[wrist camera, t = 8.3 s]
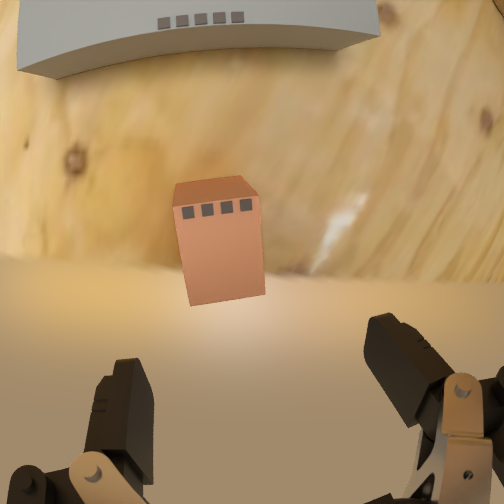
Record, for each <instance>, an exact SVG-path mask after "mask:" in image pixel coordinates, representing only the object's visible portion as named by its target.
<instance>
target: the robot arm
mask: <svg viewBox="0 0 504 504" xmlns="http://www.w3.org/2000/svg"><path fill="white" fill-rule="evenodd" d="M494 2H495V4H496V5H497V7H498V9H499V10H500V12H501V13H502V15H503V16H504V0H494ZM364 358H365V361H366V363H367V365H368V367H369V368H370V370H371V371H372V373H373V375H374V376H375V377H376V379H377V381H378V382H379V383H380V385H381V387H382V388H383V390H384V391H385V393H386V394H387V396H388V397H389V399H390V401H391V402H392V404H393V405H394V407H395V408H396V410H397V411H398V413H399V415H400V416H401V418H402V419H403V421H404V422H405V424H406V426H407V427H408V428H409V427H412V426H414V425H416V424H418V423H419V424H420V426H421V427H422V428H421V431H420V433H419V440H418V446H417V451H416V456H415V462H414V466H413V471H412V475H411V478H410V481H409V483H408V485H407V487H406V489H405V492H404V495H403V498H400V499H393V497H392V495H391V493H389V494H387V495H384V496H382V497H380V498H377V499H375V500H372V501H370V502H367V503H365V504H489V502H490V492H491V479H492V478H491V477H492V468H493V470H494V471H495V473H496V475H497V476H498V478H499V480H500V481H501V483H502V485H503V487H504V366H503V367H501V368H500V370H499V372H498V373H497V375H496V377H495V378H489V379H484V380H477V379H476V378H475V377H473V376H472V375H470V374H467V373H455V372H454V371H453V370H452V369H451V367H450V366H449V365H448V364H447V363H446V362H445V361H444V359H443V358H442V357H441V356H440V355H439V354H438V353H437V352H436V350H434V348H433V347H431V345H430V344H429V343H428V342H427V340H424V337H423V336H422V335H421V334H420V333H419V332H418V331H417V330H416V329H415V328H413V327H411V326H410V325H408V324H406V323H400V322H399V321H398V320H397V318H396V317H395V316H394V315H393V314H392V313H386V314H382V315H378V316H374V317H371V318H370V319H369V322H368V328H367V334H366V339H365V345H364ZM153 424H154V398H153V393H152V389H151V386H150V384H149V382H148V379H147V377H146V374H145V372H144V370H143V367H142V365H141V362H140V360H139V359H138V358H132V359H122V360H116V362H115V365H114V370H113V375H111V376H104V377H103V379H102V380H101V382H100V383H99V384H98V386H97V387H96V392H95V396H94V402H93V406H92V413H91V415H90V421H89V426H88V432H87V437H86V443H85V449H84V452H83V453H82V454H80V455H79V456H77V457H76V458H75V459H74V460H73V461H72V463H71V465H70V467H69V468H66V469H62V470H58V471H53V472H48V473H43V472H42V471H41V470H40V469H39V468H37V467H35V466H32V465H24V466H21V467H20V468H18V469H17V470H16V471H15V472H14V473H13V475H12V477H11V480H10V485H9V491H8V498H7V504H150V503H149V502H148V501H147V500H146V499H145V498H144V497H143V485H153Z"/></svg>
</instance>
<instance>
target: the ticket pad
mask: <svg viewBox="0 0 504 504" xmlns="http://www.w3.org/2000/svg"><path fill="white" fill-rule="evenodd" d="M379 36H381V35H380V27H379V19H378V11H377V5H376V0H20V6H19V17H18V33H17V70H18V71H23V72H27V73H32V74H36V75H40V76H44V77H48V78H52V79H56V80H57V79H60V78H63V77H66V76H70V75H73V74H77V73H80V72H84V71H87V70H91V69H95V68H99V67H103V66H108V65H112V64H117V63H121V62H126V61H131V60H136V59H142V58H148V57H154V56H160V55H167V54H174V53H182V52H191V51H201V50H213V49H228V48H259V47H276V48H306V49H322V50H333V51H337V50H340V49H343V48H345V47H348V46H351V45H354V44H357V43H360V42H363V41H366V40H369V39H372V38H376V37H379Z"/></svg>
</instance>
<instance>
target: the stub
mask: <svg viewBox="0 0 504 504" xmlns="http://www.w3.org/2000/svg"><path fill="white" fill-rule="evenodd" d="M173 213H174V219H175V226H176V232H177V238H178V244H179V250H180V256H181V261H182V267H183V272H184V278H185V283H186V288H187V293H188V298H189V303H190V306H196V305H202V304H209V303H215V302H222V301H228V300H235V299H241V298H246V297H252V296H259V295H265V279H264V262H263V245H262V229H261V213H260V197H259V195H258V194H257V192H256V191H255V190H254V189H253V188H252V187H251V186H250V185H249V184H248V183H247V182H246V181H245V180H244V179H243V178H242V177H241V176H233V177H224V178H216V179H208V180H201V181H193V182H186V183H179V184H176V187H175V194H174V201H173Z"/></svg>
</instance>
